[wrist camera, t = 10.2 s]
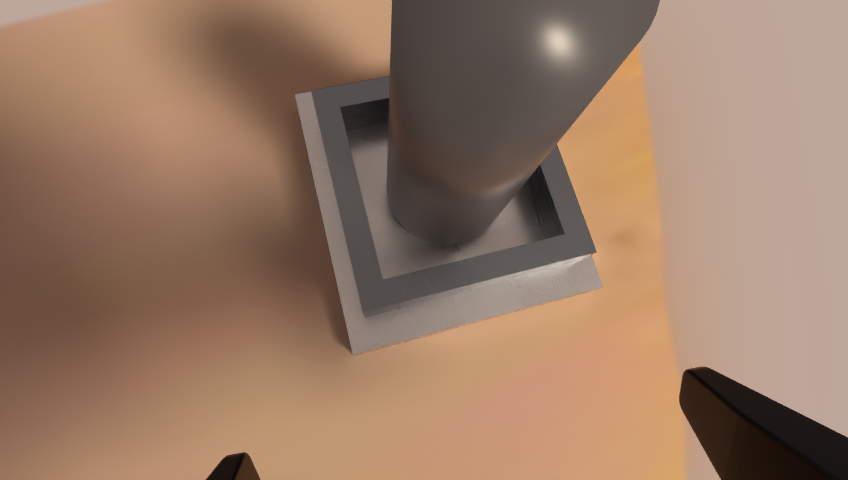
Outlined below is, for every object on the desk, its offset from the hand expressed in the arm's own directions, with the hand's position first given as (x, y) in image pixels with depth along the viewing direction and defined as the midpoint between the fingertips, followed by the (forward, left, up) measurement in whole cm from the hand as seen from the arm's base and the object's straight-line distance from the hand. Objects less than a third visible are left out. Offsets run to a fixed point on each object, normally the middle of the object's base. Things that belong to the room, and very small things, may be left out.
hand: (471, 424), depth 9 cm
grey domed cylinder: (+8, -3, -9) cm, 12 cm away
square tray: (+8, -3, -10) cm, 13 cm away
